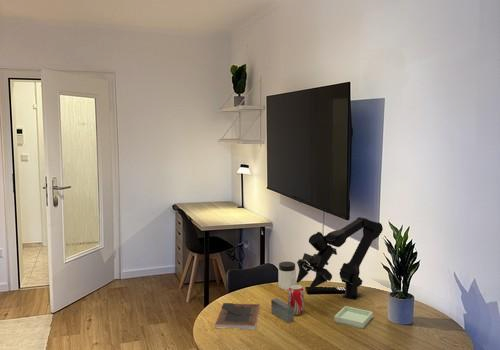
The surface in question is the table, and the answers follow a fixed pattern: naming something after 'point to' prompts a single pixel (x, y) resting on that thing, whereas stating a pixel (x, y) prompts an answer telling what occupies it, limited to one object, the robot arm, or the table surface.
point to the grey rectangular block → (282, 310)
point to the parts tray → (353, 317)
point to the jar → (286, 275)
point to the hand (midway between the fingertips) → (303, 285)
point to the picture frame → (238, 316)
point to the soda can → (296, 298)
